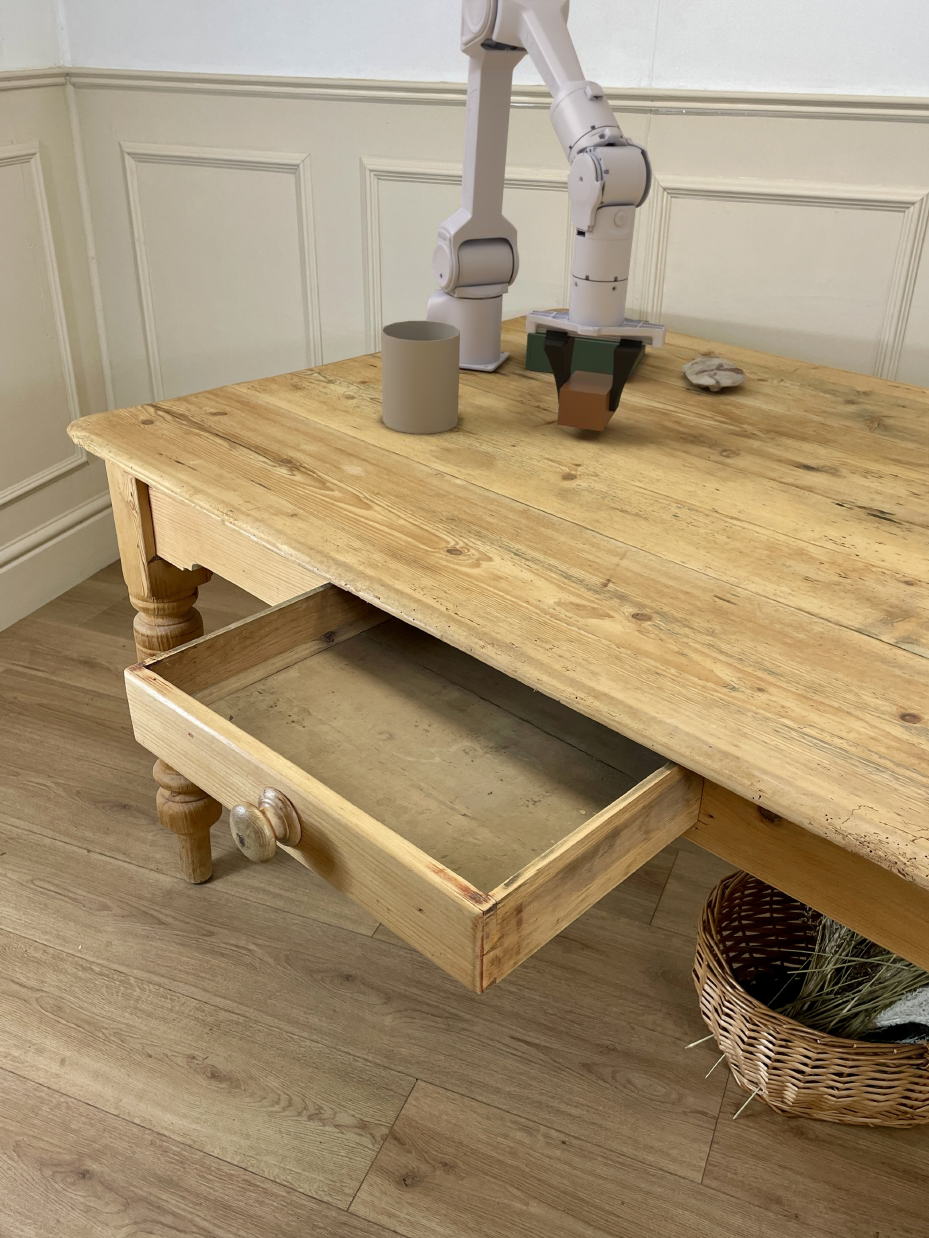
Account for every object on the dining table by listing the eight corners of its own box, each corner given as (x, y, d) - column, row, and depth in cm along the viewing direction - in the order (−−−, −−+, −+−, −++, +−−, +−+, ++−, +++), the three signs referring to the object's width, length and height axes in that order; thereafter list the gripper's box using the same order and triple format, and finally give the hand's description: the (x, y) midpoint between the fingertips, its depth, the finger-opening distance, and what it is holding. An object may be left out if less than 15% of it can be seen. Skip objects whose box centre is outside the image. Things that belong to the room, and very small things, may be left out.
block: (556, 425, 106) (559, 388, 104) (572, 405, 112) (575, 370, 110) (602, 431, 105) (606, 394, 103) (616, 411, 111) (620, 376, 109)
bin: (525, 369, 129) (527, 333, 126) (551, 343, 139) (553, 310, 137) (625, 382, 125) (629, 345, 123) (644, 355, 136) (648, 321, 133)
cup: (430, 439, 106) (430, 346, 101) (368, 423, 110) (365, 332, 105) (471, 417, 112) (474, 328, 107) (411, 403, 116) (411, 316, 111)
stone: (753, 396, 121) (757, 375, 120) (694, 396, 121) (698, 374, 119) (728, 373, 130) (731, 353, 128) (673, 372, 129) (676, 352, 128)
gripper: (520, 276, 100) (513, 407, 107) (664, 291, 96) (647, 426, 103) (539, 263, 105) (531, 388, 112) (676, 277, 101) (659, 405, 108)
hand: (587, 405), depth 108 cm, fingers closed on block, 5 cm apart
